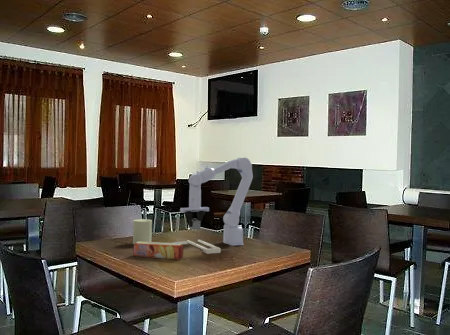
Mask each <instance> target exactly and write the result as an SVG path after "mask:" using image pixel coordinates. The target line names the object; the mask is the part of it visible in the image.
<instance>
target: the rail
mask: <svg viewBox="0 0 450 335" xmlns="http://www.w3.org/2000/svg"><path fill="white" fill-rule="evenodd" d="M186 241H187V243H189V244H190V245H192V246H194V247H196V248H198V249H200V250H199V251H200V252H202V253H204V254H206V255H209V254H210V255H211V254H221V252H222V251H221V248H220V247H218V246H215V245H214V244H212V243H209V242H206V241H204V240H202V239H197V242H198V243H200V244H202V245H205V246H207V247H209V248H207V247H205V246H202V245H200V244H197V243H196V242H193V241H192V240H188V239H187V240H186ZM189 244H188V245H189Z"/></svg>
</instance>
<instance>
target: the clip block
mask: <svg viewBox="0 0 450 335" xmlns="http://www.w3.org/2000/svg"><path fill="white" fill-rule="evenodd" d="M188 229H190V230H201V225H200V221H199V220H197V218H194V217H192V227H189V226H188Z"/></svg>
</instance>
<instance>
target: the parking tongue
mask: <svg viewBox="0 0 450 335" xmlns="http://www.w3.org/2000/svg"><path fill="white" fill-rule="evenodd" d="M172 243H182V244H183V245H189V243H187V240H182V241H172Z"/></svg>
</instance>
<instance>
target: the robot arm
mask: <svg viewBox="0 0 450 335" xmlns="http://www.w3.org/2000/svg"><path fill="white" fill-rule="evenodd" d="M230 169H235V170H237V171H238V173H239V174H240V177H241V180H240V182H239V185H238V187H237V190H236V192H235V195H234V197H233V200H232V202H231V205H230V207H229V208H228V210H227V211H226V213H225V214H224V215H223V217H222V221H223V223H224V225H223V238H222V240H223V244H227V245H229V246H244V229H243V227H242V226H239V223H240V217H241V208H242V206H243V204H244V202H245V198H246V196H247V194H248V191H249V190H250V187H251V184H252V181H253V178H254V175H253V164H252V161H250V159H249V158H248V157H236V158H234V159H231V160H228V161H226V162H224V163H222V164H221V165H219V166H218V165H217V166H216V167H214V168H212V167H208V166H207V167H205V168H204V169H203V170H201V171H197V172H196V173H195V174H192V175H190V176H189V178H188V183H189V190H188V194H189V195H188V207H180V209H179V212H180V213H184V215H185V217H186V220H187V224H188V228H189V227H192V220H193V215H194V214H193V213H195V212H196V217H197V218H196V219H197V220H199V221H200V226H201V224H202V221H203V219H204V216H205V215H206V212H210V207H208V206H202V189H201V188H202V187H201V185H202V184H204V183H206V182H208V181H210V180H213V179H215V178H216V175H217V174H221V173H223V172H225V171H227V170H230Z"/></svg>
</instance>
